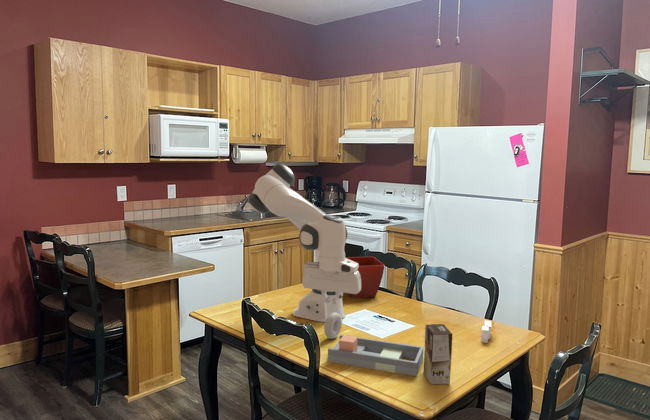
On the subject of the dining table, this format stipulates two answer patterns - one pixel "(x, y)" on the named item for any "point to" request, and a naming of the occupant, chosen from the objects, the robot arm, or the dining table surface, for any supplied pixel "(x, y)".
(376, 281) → the plant pot
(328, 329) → the grey wheel
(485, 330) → the napkin holder
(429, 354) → the coffee box
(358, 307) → the dining table surface
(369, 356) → the tray
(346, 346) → the block
